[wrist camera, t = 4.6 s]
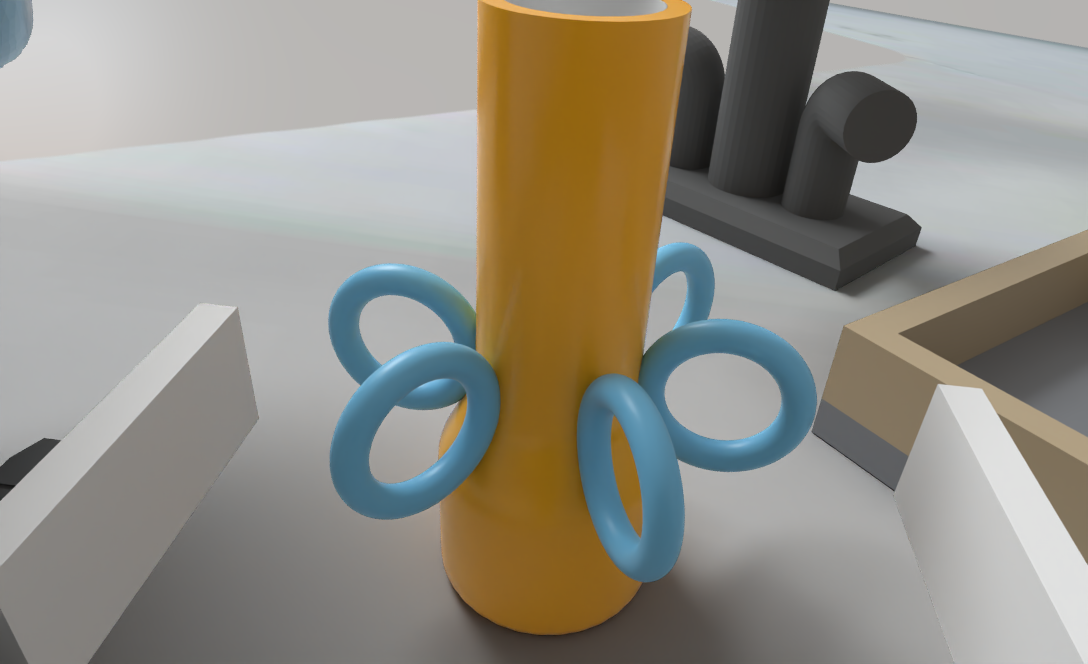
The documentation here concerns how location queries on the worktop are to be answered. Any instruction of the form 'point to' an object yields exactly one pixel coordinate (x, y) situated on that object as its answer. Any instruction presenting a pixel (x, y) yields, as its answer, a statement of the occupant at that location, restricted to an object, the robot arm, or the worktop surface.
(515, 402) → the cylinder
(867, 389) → the tan and grey tray
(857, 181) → the worktop surface
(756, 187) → the faucet
